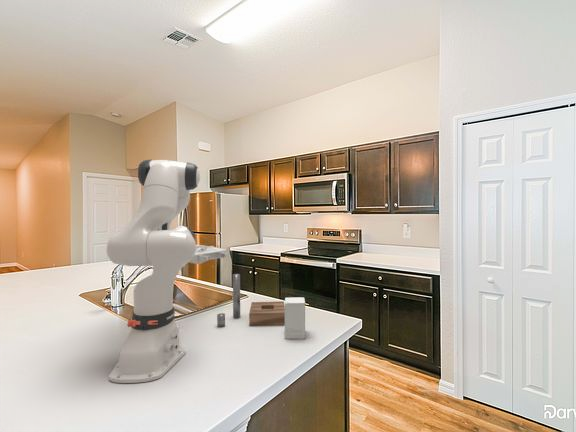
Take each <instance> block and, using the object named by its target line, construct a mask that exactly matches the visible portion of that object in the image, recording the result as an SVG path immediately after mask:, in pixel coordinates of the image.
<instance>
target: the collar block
mask: <svg viewBox="0 0 576 432" xmlns="http://www.w3.org/2000/svg"><path fill="white" fill-rule="evenodd" d="M249 308H250V309H249V312H248V313H249V314H248V315H249V327H258V326H259V327H262V326H263V327H265V326H267V327H268V326H271V327H272V326H285V300H284V301H283V300H282V301H252V302H251V304H250V307H249Z"/></svg>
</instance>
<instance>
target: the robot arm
mask: <svg viewBox="0 0 576 432" xmlns="http://www.w3.org/2000/svg"><path fill="white" fill-rule="evenodd" d="M136 175H137V179H138V183H140V185H142V186H143V187H142V188H143V189H142V194H141V198H140V202H139V203H140V204H139V206H138V210H137V211H136V214H135V215H134V217H133V218H132V220H131V221H130V222H129V223H128V224H127V225H126V226H125V227H123V228H122V229H120V231H119V230H118V232H115V233H114V234H113V235H112V236H111V237H110V238H109V239H108V242H107V244H106V254H107V257H108V258H109V260H110V262H112V263H113V264H114V265H115V264H116V265H119V266H126V267H150V266H151V267H152V273H151V274H150V275H148V276H147V277H145V278H142V279H141V280H139V281H138V282H137V283H136V284H135V286H134V288H133V311H132V314H131V315H132V316H131V319H128V321H127V323H126V325H127V328H130V329H129V331H128V334H127V336H126V338H125V341H124V343H123V345H122V347H121V350H120V352H119V358H118V361H117V363H116V364H115V366H114V367H113V369H112V370H111V373H110V374H109V376H108V381H109V382H113V383H117V384H136V383H146V382H151V381H155V380H158V379H161V378H162V377H163V376H165V374H167V372H169V370H170V369H171V368H172V367H174V365H176V363H178V362H179V361H180V359H182V357H183V356H184V355H185V354H186V349H185V348H183V347H181V332H180V327H179V325H178V324H177V323H176V322H175V314H176V313H175V307H174V306H173V305H174V303H173V301H174V285H175V281H176V278H177V276H178V274H179V273H180V271H181V270H182V268H183V267H185V266H186V265H187V264H188V263H189V264H197V265H200V264H203V263H206V262H207V261H210V260H217V259H222V258H227V250H226V249H225V248H221V247H215V246H214V245H203V244H202V245H201V244H196V235H195V233H194V232H193V230H192V229H191V228H189V227H188V226H185V225H182V224H181V225H179V226H177V227H175V228H174V229H171V224H172V222H173V221H174V220H175V218H177V216H178V215H179V214H181V213H182V212H183V211H184V210H185V209H186V208H187V207H188V206H189V204H190V199H191V193H190V192H191V191H192V190H195V189H197V188H198V185H199V183H200V181H201V174H200V170H199V167H198V166H197V165H196V164H194V163H192V162H183V161H175V160H170V159H155V160H153V159H145V160H142V161H141V162H140V163H139V165H138V166H137V174H136Z"/></svg>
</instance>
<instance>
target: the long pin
mask: <svg viewBox="0 0 576 432" xmlns="http://www.w3.org/2000/svg"><path fill="white" fill-rule="evenodd" d="M232 318H233V319H240V318H241V274H240V273H234V274H232Z"/></svg>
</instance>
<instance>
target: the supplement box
mask: <svg viewBox="0 0 576 432" xmlns="http://www.w3.org/2000/svg"><path fill="white" fill-rule="evenodd" d="M284 306H285V325H284V339H287V340H288V339H291V340H292V339H293V340H294V339H295V340H298V339H299V340H301V339H302V340H303V339H306V300H305V297H301V296H300V297H299V296H298V297H295V296H294V297H285V298H284Z"/></svg>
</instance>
